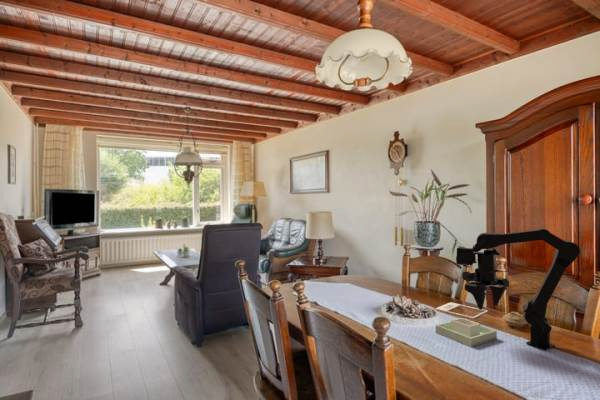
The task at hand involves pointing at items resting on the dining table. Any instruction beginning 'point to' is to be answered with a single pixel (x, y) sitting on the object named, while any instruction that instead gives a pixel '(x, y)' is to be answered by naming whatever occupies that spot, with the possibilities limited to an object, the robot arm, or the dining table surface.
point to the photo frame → (451, 306)
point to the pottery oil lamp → (515, 319)
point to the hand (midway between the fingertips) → (488, 307)
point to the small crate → (465, 327)
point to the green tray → (484, 336)
